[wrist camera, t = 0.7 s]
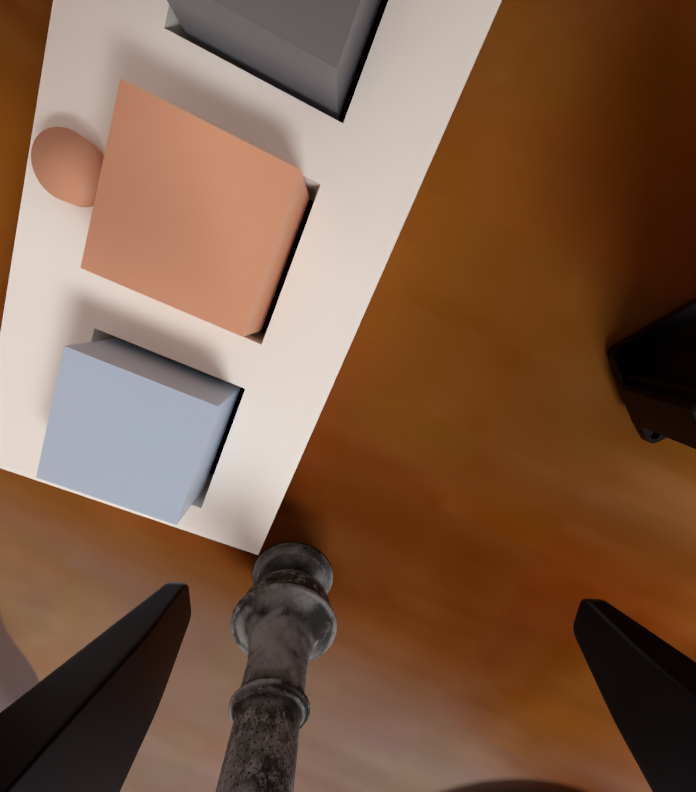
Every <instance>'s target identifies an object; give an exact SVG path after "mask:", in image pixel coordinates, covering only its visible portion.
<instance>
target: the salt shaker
mask: <svg viewBox="0 0 696 792" xmlns="http://www.w3.org/2000/svg"><path fill="white" fill-rule="evenodd" d="M252 577H253V584H254V585H253V586H252V587H251V588H250V590H249V591H248V592H247V594H246V596H244V597H243V598H242V599H241V600H240V601H239V602H238V604H237V606H236V607H235V609H234V610H233V614H232V618H231V622H230V624H231V632H232V635H233V637H234V640H235V642H236V644H237V645H238V646H239V647H240V649H241V650H242V651H243V652H244V653H245V654H247V655H248V662H247V666H246V669H245V673H244V677H243V681H242V685H241V687H240V688H239V689H238V690H237V691H235V693H234V694H233V696H232V697H231V699H230V703H229V707H228V711H229V716H230V718H231V720H232V722H233V726H232V730H231V734H230V738H229V742H228V746H227V749H226V753H225V757H224V761H223V765H222V769H221V773H220V777H219V780H218V784H217V788H216V792H293V790H294V780H295V769H296V759H297V749H298V739H299V729H300V728H302V726H303V725H304V724H305V723H306V721H307V720H308V717H309V714H310V703H309V701H308V698H307V696H306V695H305V684H306V673H307V665H308V663H309V662H311V661H313V660H315V659H317V658H318V657H320V656H321V655H322V654H323V653H325V652H326V651H327V650H328V648H329V647H330V646H331V644H332V643H333V641H334V638H335V635H336V632H337V619H336V617H335V614H334V611H333V609H332V607H331V604H330V602H329V599H328V596H327V593H328V592H329V591H330V589H331V586H332V583H333V571H332V568H331V565H330V562H329V561H328V560H327V558H326V557H325V556H324V555H323V554H322V553H321V552H320V551H318V550H317V549H315V548H313V547H311V546H309V545H305V544H301V543H283V544H279V545H275V546H273V547H271V548H269V549H267V550H266V551H265V552H264V553H262V554H261V555H260V556H259V558H258V559H257V561H256V563H255V565H254V569H253V573H252Z"/></svg>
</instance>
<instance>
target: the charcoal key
mask: <svg viewBox="0 0 696 792" xmlns="http://www.w3.org/2000/svg"><path fill="white" fill-rule="evenodd" d="M381 1H382V0H167V2H168V3H169V5H170V7H171V9H172V10H173V12H174V14H175V16H176V17H177V19H178V21H179V22H180V24H181V26H182V28H183V29H184V31H185V33H186V35H187V36H188V38H189V40H190V42H191V43H193V44H195V45H197V46H199V47H201V48H203V49H205V50H206V51H208V52H210V53H212V54H214V55H216V56H218V57H220V58H221V59H223V60H225V61H227V62H229V63H231V64H233V65H235V66H236V67H238V68H240V69H242V70H244V71H246V72H248V73H250V74H251V75H253V76H255V77H257V78H259V79H261V80H263V81H265V82H266V83H268V84H270V85H272V86H274V87H276V88H278V89H280V90H281V91H283V92H285V93H287V94H289V95H291V96H293V97H295V98H296V99H298V100H300V101H302V102H304V103H306V104H308V105H310V106H311V107H313V108H315V109H317V110H319V111H321V112H323V113H325V114H326V115H328V116H330V117H332V118H334V119H336V120H338V119H339V116H340V114H341V111H342V108H343V105H344V103H345V100H346V97H347V94H348V92H349V89H350V86H351V83H352V81H353V78H354V75H355V72H356V70H357V67H358V64H359V61H360V59H361V56H362V53H363V50H364V48H365V45H366V42H367V39H368V37H369V34H370V31H371V28H372V26H373V23H374V20H375V17H376V15H377V12H378V9H379V6H380V4H381Z"/></svg>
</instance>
